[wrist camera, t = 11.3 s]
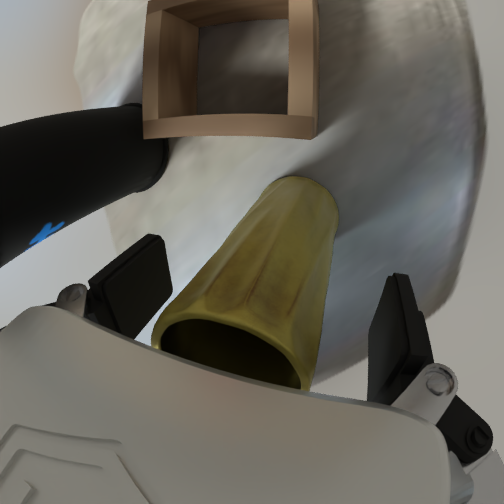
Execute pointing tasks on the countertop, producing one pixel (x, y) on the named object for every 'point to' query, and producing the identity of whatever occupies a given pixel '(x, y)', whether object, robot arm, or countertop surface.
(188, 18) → the block
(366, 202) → the countertop surface
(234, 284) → the vase
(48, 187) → the aerosol can
